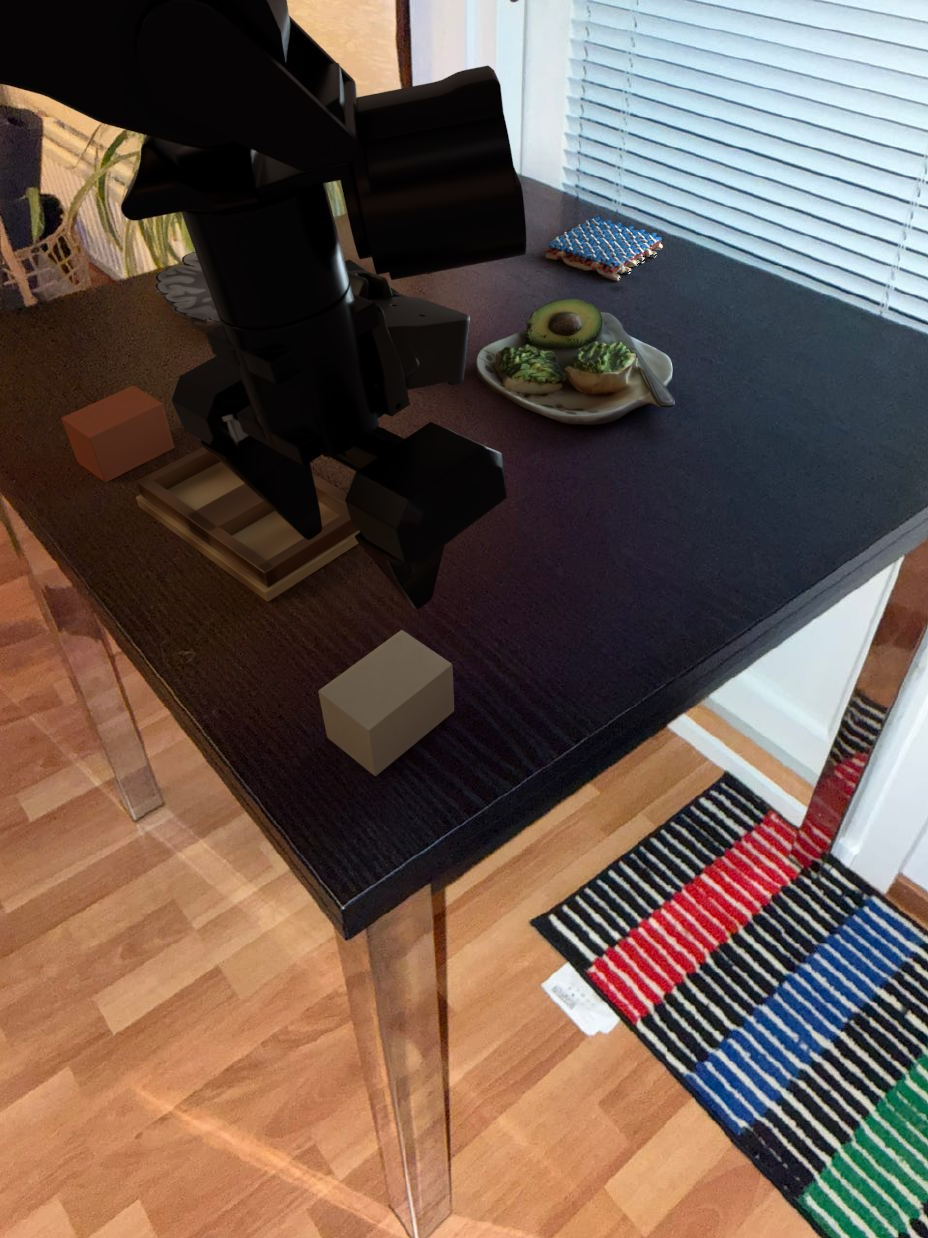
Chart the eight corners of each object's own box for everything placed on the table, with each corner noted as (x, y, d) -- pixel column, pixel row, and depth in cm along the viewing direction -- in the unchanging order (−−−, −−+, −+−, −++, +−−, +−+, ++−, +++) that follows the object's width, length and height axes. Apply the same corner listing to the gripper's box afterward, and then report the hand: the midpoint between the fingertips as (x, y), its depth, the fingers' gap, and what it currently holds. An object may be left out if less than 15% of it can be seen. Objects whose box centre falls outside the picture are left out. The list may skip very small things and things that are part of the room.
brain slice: (231, 254, 111) (226, 229, 109) (353, 279, 105) (350, 253, 103) (121, 325, 98) (113, 298, 96) (252, 358, 93) (247, 330, 91)
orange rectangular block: (105, 483, 78) (89, 437, 75) (77, 462, 81) (60, 417, 77) (175, 447, 82) (162, 403, 79) (146, 429, 84) (133, 384, 81)
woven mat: (540, 259, 108) (541, 242, 107) (592, 230, 114) (593, 213, 113) (615, 283, 104) (617, 265, 102) (665, 251, 109) (667, 234, 108)
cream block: (375, 777, 56) (368, 730, 53) (326, 737, 59) (317, 690, 55) (454, 711, 60) (452, 664, 57) (406, 676, 62) (401, 629, 59)
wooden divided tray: (378, 531, 73) (375, 506, 71) (267, 602, 67) (261, 577, 66) (246, 449, 82) (241, 425, 80) (138, 506, 76) (130, 481, 74)
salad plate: (728, 391, 87) (737, 346, 84) (591, 462, 79) (595, 415, 76) (585, 317, 98) (588, 275, 95) (451, 373, 90) (450, 329, 87)
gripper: (577, 263, 37) (595, 554, 48) (300, 186, 48) (366, 438, 59) (370, 395, 32) (442, 683, 43) (114, 277, 43) (224, 532, 54)
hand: (365, 567), depth 50 cm, fingers open, 9 cm apart
